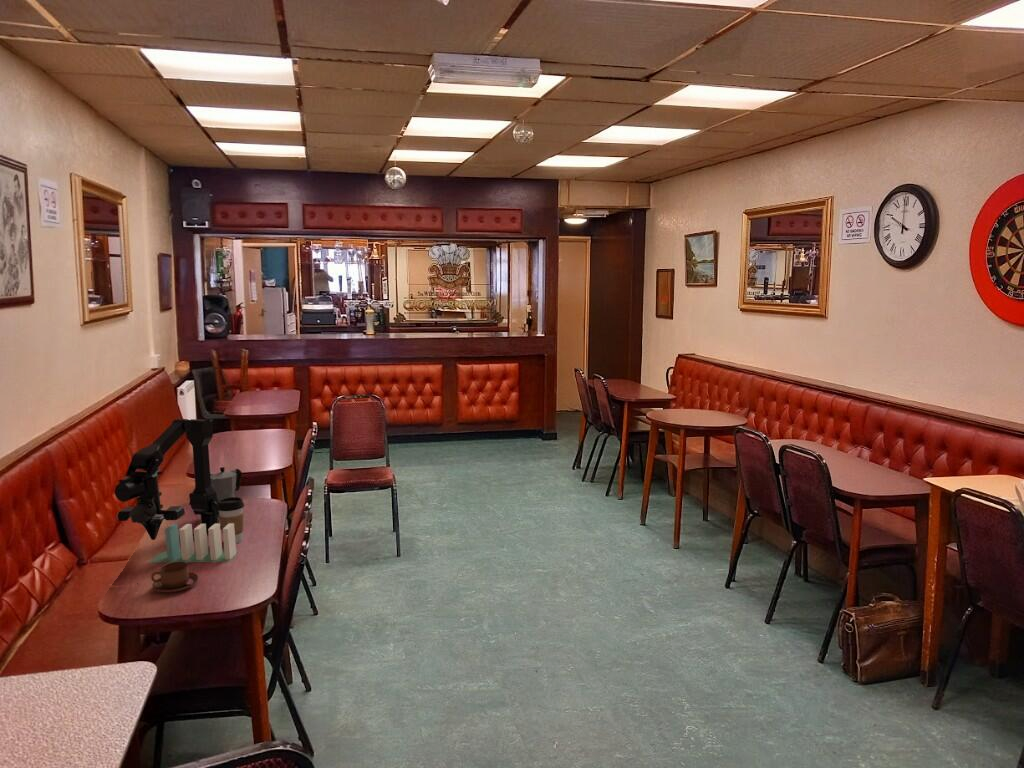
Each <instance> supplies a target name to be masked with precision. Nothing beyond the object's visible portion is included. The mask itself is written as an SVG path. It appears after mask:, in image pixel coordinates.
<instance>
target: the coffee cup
mask: <svg viewBox="0 0 1024 768" xmlns="http://www.w3.org/2000/svg"><path fill="white" fill-rule="evenodd" d="M244 507H245V503H244V502H243V498H242V497H239V496H235V497H230V498H225V499H222V500H220V501H218V506H217V510H219V524H220V525H221V529H220V530H221V535H223V528H224V527H225V526H227V525H228V524H229V523H234V530H235V542H236V545H237V544H239V543H242V542H243V541H244V517H245V516H244V513H245V512H244Z"/></svg>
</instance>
